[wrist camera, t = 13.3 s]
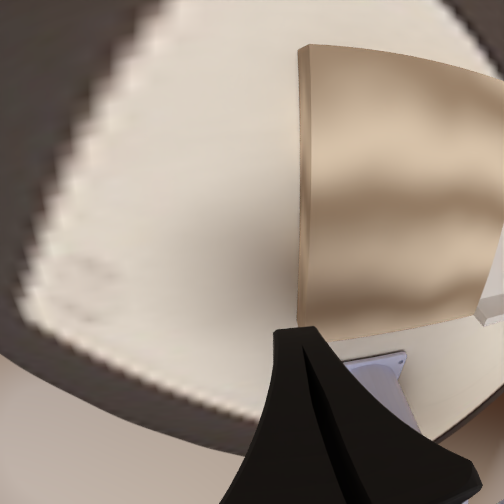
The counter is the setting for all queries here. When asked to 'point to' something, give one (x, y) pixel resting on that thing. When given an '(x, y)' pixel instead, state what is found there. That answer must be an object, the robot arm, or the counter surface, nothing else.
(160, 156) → the counter surface
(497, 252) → the box
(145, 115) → the counter surface
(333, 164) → the oak board
